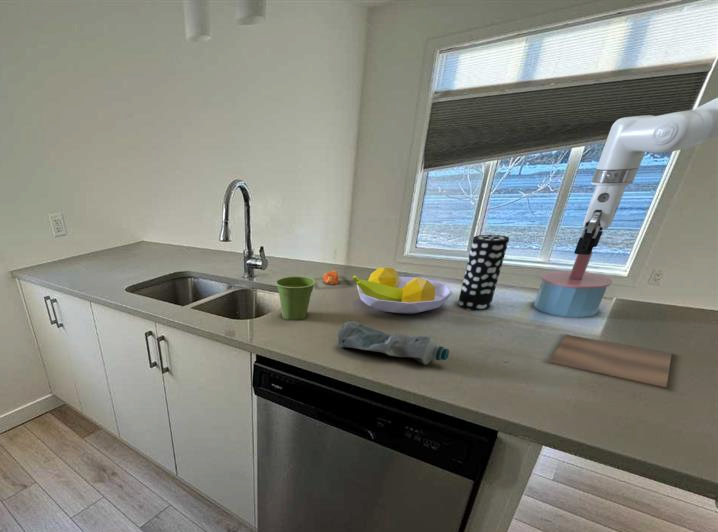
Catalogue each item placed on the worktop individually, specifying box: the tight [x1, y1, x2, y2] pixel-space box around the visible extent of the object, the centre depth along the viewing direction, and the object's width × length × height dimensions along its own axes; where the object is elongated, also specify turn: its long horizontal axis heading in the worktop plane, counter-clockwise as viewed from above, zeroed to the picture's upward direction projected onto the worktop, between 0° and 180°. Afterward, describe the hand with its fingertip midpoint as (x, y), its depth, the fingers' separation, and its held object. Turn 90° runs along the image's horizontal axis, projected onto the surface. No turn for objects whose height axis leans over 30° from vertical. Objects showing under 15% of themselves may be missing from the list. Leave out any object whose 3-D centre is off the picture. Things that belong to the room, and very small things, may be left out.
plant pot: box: [275, 275, 317, 321], centre depth 123 cm, size 12×12×11 cm
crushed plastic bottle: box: [337, 320, 450, 366], centre depth 97 cm, size 13×7×25 cm
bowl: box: [533, 279, 608, 318], centre depth 111 cm, size 14×14×8 cm
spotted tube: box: [457, 234, 510, 312], centre depth 116 cm, size 8×8×20 cm
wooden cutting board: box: [548, 334, 673, 389], centre depth 88 cm, size 18×18×1 cm
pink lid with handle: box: [540, 251, 613, 289], centre depth 108 cm, size 15×15×8 cm
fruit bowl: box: [352, 266, 454, 315], centre depth 123 cm, size 28×27×11 cm
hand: (585, 250), depth 105 cm, fingers open, 9 cm apart
